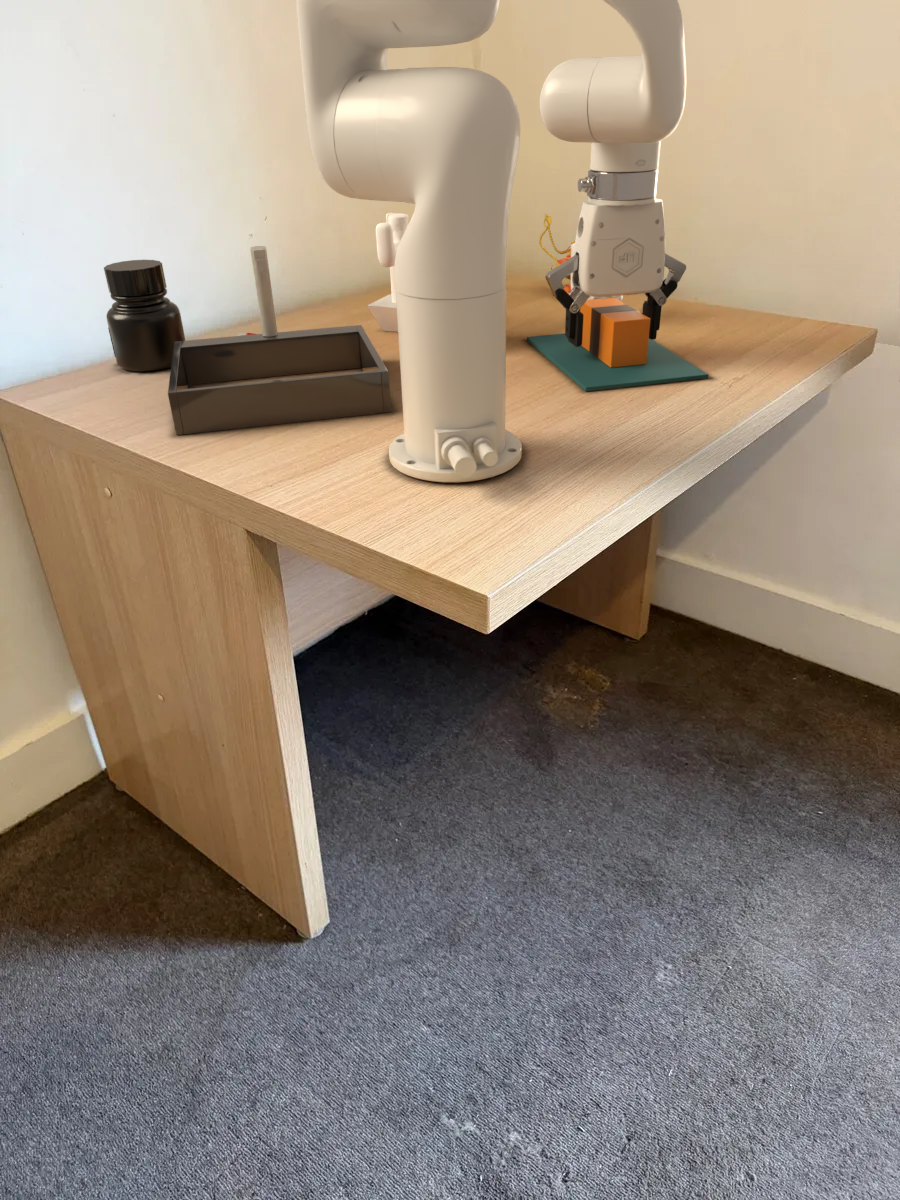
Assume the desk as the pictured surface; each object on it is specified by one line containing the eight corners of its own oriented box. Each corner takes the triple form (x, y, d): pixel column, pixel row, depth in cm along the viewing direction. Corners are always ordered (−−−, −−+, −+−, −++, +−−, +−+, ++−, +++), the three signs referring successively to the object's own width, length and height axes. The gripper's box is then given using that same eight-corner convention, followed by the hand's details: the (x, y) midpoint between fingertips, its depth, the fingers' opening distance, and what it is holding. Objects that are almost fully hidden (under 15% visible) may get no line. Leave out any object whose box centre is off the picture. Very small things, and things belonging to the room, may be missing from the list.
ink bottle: (170, 348, 117) (151, 254, 111) (204, 360, 112) (186, 262, 106) (102, 364, 112) (78, 267, 105) (135, 378, 106) (112, 276, 100)
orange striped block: (646, 364, 104) (651, 318, 101) (610, 368, 103) (613, 321, 100) (611, 340, 113) (614, 297, 110) (577, 343, 112) (579, 300, 109)
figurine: (440, 321, 125) (436, 208, 117) (411, 338, 118) (405, 219, 110) (395, 317, 128) (388, 207, 120) (365, 334, 121) (355, 217, 113)
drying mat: (708, 378, 100) (708, 374, 100) (585, 391, 97) (585, 387, 97) (631, 330, 118) (631, 326, 118) (526, 340, 116) (526, 336, 115)
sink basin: (391, 412, 94) (381, 270, 86) (176, 435, 89) (145, 289, 82) (364, 360, 110) (354, 237, 102) (181, 378, 106) (156, 251, 98)
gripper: (561, 196, 93) (555, 355, 102) (708, 186, 96) (690, 342, 105) (539, 188, 99) (535, 338, 108) (678, 179, 102) (663, 326, 111)
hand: (611, 340), depth 107 cm, fingers open, 9 cm apart
